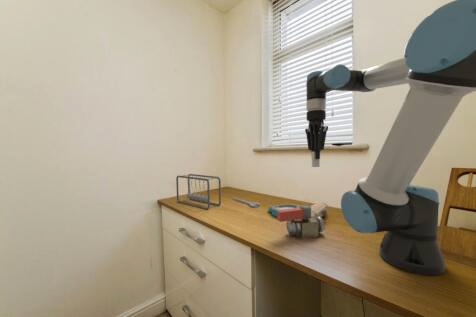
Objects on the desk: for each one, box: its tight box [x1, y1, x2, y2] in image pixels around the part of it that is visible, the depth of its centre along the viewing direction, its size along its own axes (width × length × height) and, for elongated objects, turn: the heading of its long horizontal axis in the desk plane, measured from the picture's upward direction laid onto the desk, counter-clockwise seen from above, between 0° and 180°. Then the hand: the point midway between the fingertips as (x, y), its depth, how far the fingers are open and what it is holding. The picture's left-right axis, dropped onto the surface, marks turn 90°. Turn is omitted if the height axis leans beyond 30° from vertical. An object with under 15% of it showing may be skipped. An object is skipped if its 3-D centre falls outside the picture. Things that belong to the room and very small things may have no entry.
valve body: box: [285, 216, 326, 240], centre depth 82 cm, size 13×7×7 cm, turn 103°
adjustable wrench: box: [232, 197, 261, 209], centre depth 130 cm, size 25×6×2 cm, turn 31°
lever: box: [276, 205, 311, 223], centre depth 80 cm, size 14×4×4 cm, turn 108°
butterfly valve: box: [268, 201, 329, 218], centre depth 103 cm, size 27×7×30 cm
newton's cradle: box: [175, 173, 222, 210], centre depth 128 cm, size 30×10×18 cm, turn 52°
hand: (315, 166), depth 87 cm, fingers closed
